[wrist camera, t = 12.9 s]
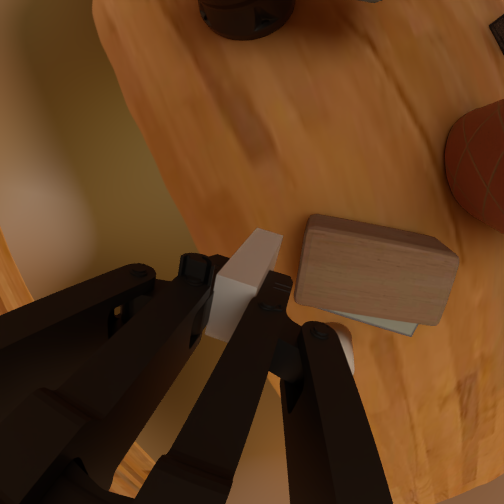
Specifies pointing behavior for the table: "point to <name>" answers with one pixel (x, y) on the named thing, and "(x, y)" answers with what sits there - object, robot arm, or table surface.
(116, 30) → the table surface
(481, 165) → the planter
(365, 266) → the wooden block
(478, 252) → the table surface
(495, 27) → the small box
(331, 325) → the white rounded cylinder
